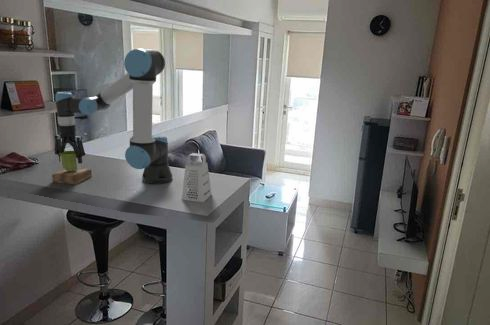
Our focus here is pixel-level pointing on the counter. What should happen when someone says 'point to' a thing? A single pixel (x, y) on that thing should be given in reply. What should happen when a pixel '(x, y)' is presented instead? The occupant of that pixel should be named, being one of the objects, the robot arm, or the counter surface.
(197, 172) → the grater
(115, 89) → the robot arm
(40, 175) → the counter surface
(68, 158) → the plant pot
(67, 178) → the tan flat square block
